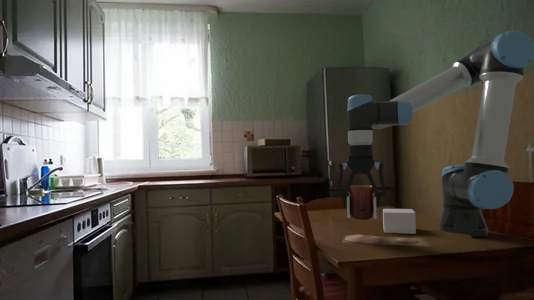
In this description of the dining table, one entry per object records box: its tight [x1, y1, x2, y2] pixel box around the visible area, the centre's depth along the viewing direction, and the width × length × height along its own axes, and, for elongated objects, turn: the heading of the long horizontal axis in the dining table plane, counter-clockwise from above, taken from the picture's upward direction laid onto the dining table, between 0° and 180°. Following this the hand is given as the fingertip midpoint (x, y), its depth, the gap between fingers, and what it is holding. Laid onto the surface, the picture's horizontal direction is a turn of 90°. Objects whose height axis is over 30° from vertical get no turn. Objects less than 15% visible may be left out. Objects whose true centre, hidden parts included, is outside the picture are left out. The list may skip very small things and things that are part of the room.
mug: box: [348, 184, 375, 221], centre depth 116 cm, size 12×9×10 cm
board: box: [342, 234, 432, 247], centre depth 114 cm, size 25×11×2 cm, turn 75°
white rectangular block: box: [382, 208, 417, 235], centre depth 129 cm, size 10×9×8 cm
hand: (361, 217), depth 116 cm, fingers closed on mug, 7 cm apart
